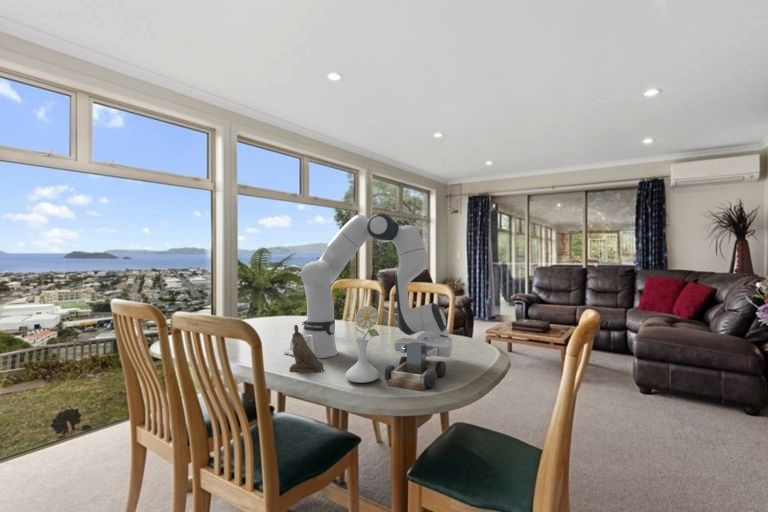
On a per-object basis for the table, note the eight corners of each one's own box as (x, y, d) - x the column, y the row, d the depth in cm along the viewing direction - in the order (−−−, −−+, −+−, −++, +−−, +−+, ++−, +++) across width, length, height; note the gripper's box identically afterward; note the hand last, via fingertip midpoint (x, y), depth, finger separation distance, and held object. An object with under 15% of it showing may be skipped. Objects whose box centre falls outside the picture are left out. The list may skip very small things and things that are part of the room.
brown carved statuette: (289, 378, 133) (279, 329, 133) (294, 373, 139) (284, 326, 139) (321, 372, 132) (311, 322, 132) (325, 367, 138) (315, 319, 138)
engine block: (406, 375, 125) (406, 345, 125) (412, 370, 129) (412, 341, 129) (420, 377, 123) (420, 346, 123) (425, 372, 127) (425, 343, 127)
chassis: (382, 384, 120) (382, 368, 120) (406, 367, 138) (406, 353, 138) (428, 391, 114) (428, 375, 114) (446, 373, 132) (446, 358, 132)
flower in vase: (337, 380, 124) (338, 304, 124) (362, 372, 132) (362, 301, 132) (366, 390, 115) (366, 308, 115) (390, 380, 124) (390, 304, 124)
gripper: (402, 332, 142) (387, 339, 130) (455, 337, 133) (444, 346, 121) (402, 348, 142) (387, 358, 130) (455, 355, 133) (444, 365, 121)
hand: (415, 352), depth 125 cm, fingers open, 8 cm apart
